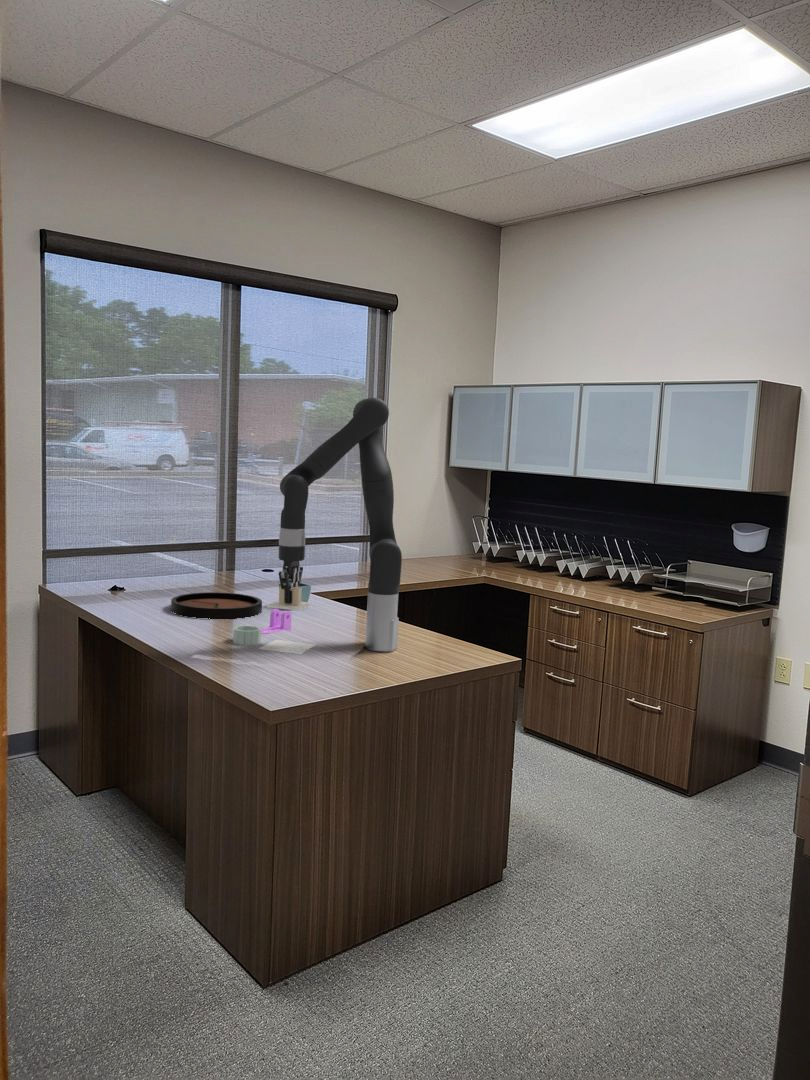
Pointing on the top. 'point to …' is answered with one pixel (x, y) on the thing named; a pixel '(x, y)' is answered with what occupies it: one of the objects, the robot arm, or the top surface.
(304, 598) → the flower pot
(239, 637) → the cup
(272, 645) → the mat
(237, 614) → the wall clock
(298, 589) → the cover
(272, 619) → the bracket
